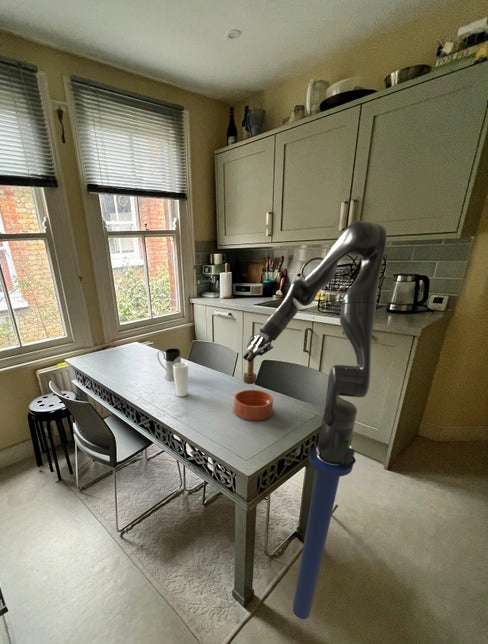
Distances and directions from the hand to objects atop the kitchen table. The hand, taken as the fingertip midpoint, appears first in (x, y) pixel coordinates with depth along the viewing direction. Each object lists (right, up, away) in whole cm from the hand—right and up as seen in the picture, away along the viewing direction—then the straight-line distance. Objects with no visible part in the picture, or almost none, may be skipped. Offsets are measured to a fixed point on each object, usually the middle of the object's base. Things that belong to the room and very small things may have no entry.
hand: (246, 359), depth 126 cm
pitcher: (-33, -6, +45) cm, 56 cm away
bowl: (+4, -21, +8) cm, 23 cm away
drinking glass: (-26, -15, +25) cm, 39 cm away
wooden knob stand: (+2, -9, +5) cm, 10 cm away
